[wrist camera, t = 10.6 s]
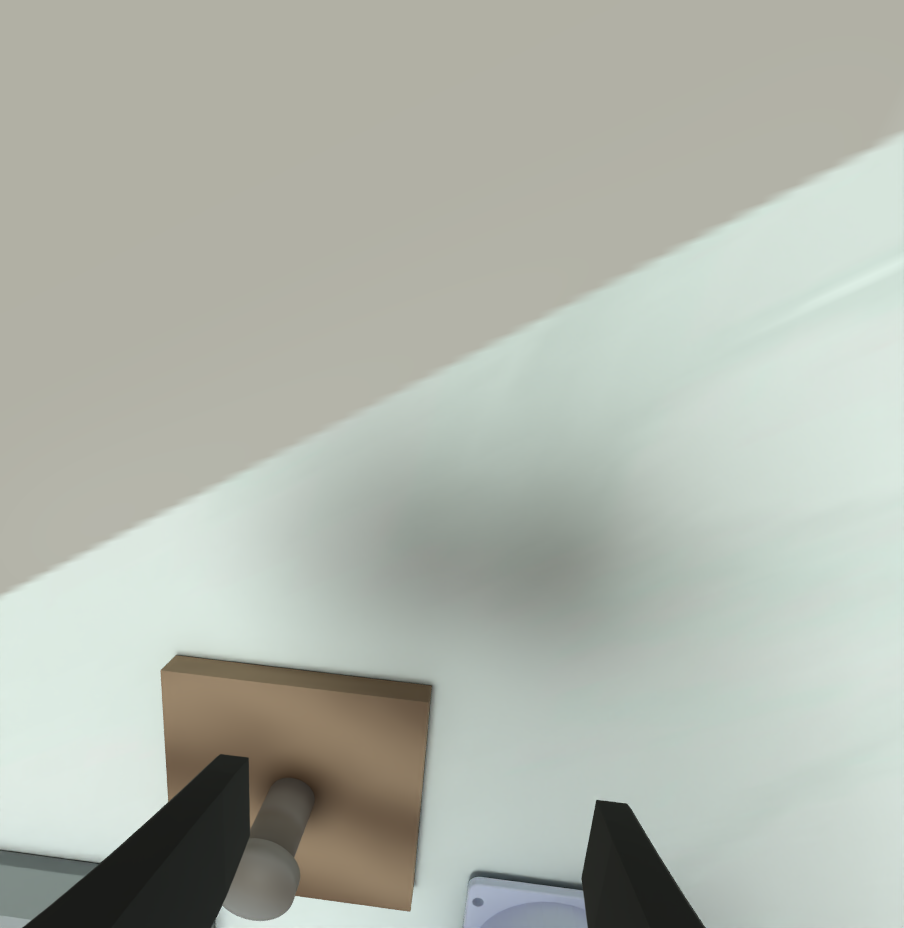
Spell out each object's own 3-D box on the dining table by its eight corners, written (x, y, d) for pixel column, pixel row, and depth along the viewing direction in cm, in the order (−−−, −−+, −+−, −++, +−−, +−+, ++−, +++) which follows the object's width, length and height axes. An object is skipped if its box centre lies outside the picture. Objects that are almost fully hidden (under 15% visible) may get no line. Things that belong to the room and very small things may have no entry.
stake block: (413, 887, 23) (396, 1019, 18) (185, 856, 23) (114, 978, 18) (431, 685, 20) (417, 781, 16) (175, 655, 20) (90, 739, 16)
